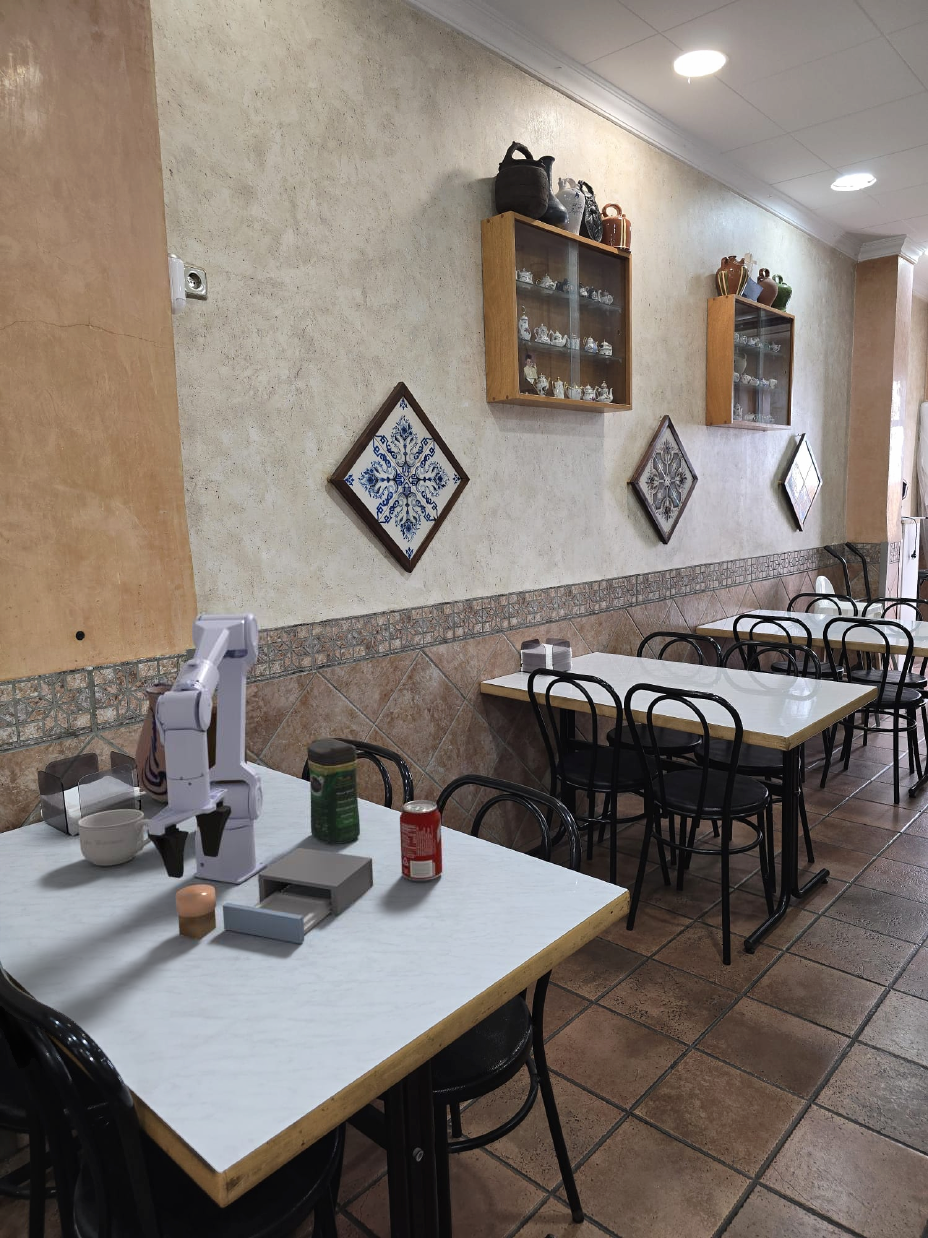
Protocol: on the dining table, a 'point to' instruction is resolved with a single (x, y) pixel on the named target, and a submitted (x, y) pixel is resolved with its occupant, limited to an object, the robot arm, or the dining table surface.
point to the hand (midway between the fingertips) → (193, 866)
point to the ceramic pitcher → (152, 749)
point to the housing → (320, 875)
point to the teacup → (112, 836)
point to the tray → (277, 916)
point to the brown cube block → (197, 925)
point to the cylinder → (195, 900)
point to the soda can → (421, 841)
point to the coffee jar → (333, 791)
